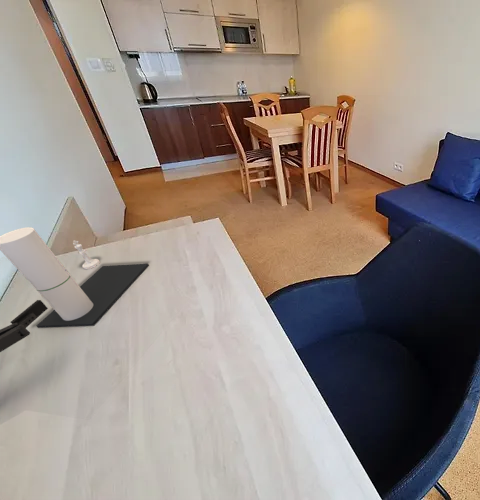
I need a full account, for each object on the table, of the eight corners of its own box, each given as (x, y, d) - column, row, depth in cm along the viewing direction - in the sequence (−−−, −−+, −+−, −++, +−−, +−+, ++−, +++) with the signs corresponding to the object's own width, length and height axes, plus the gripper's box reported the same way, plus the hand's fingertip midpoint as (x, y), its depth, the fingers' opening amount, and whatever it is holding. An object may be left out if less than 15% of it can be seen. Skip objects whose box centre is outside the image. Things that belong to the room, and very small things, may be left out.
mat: (37, 327, 81) (35, 325, 81) (104, 267, 102) (102, 265, 102) (94, 325, 80) (92, 323, 80) (149, 265, 101) (148, 263, 101)
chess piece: (79, 268, 103) (61, 244, 97) (91, 260, 107) (74, 236, 101) (91, 269, 102) (73, 245, 96) (103, 260, 106) (87, 236, 100)
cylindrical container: (91, 298, 88) (33, 224, 74) (95, 309, 84) (34, 233, 70) (61, 311, 85) (-7, 236, 70) (63, 324, 80) (-8, 247, 66)
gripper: (-142, 407, 55) (-22, 319, 72) (-16, 404, 53) (75, 314, 71) (-188, 384, 51) (-48, 296, 68) (-52, 380, 49) (55, 290, 67)
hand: (15, 305), depth 69 cm, fingers open, 13 cm apart
